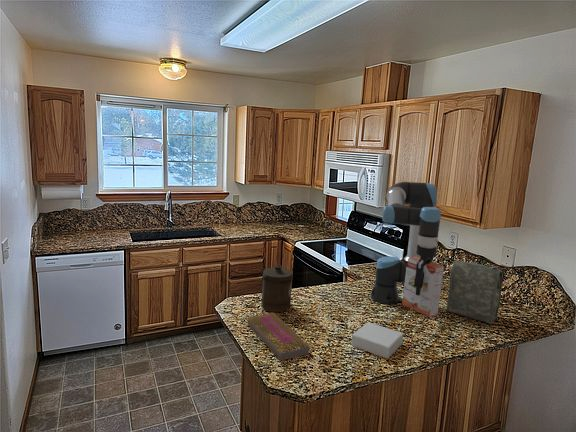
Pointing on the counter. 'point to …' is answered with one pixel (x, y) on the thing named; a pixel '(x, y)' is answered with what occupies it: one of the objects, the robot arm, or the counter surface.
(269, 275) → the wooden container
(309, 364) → the counter surface
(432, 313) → the cracker box
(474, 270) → the bag
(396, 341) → the marble slab
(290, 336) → the brown and pink box
